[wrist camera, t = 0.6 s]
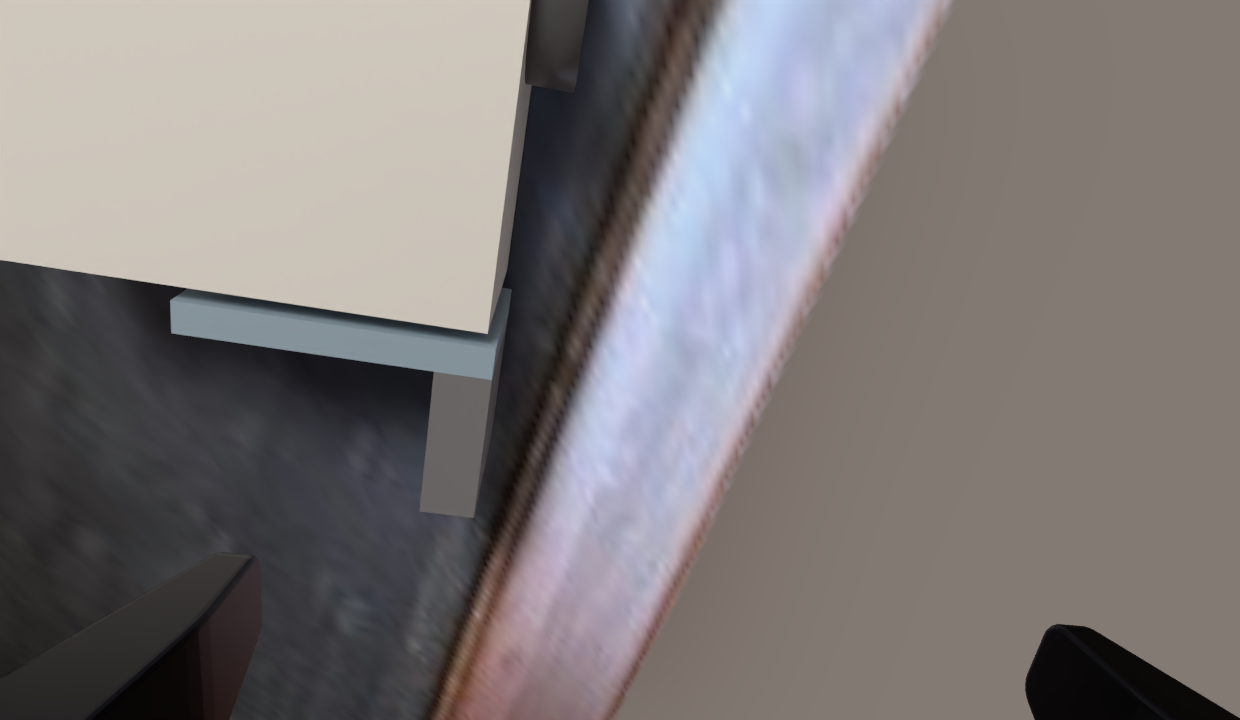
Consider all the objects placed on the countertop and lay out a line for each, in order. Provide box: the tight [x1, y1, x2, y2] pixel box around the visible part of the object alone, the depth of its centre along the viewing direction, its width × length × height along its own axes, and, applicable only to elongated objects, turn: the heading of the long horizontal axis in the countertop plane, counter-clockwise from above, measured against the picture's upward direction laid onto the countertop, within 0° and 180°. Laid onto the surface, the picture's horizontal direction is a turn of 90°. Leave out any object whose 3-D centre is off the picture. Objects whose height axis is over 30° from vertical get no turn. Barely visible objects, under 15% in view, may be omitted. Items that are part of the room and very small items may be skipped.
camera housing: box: [0, 0, 589, 334], centre depth 16 cm, size 10×11×5 cm
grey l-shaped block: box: [170, 288, 512, 518], centre depth 19 cm, size 4×6×4 cm, turn 80°
